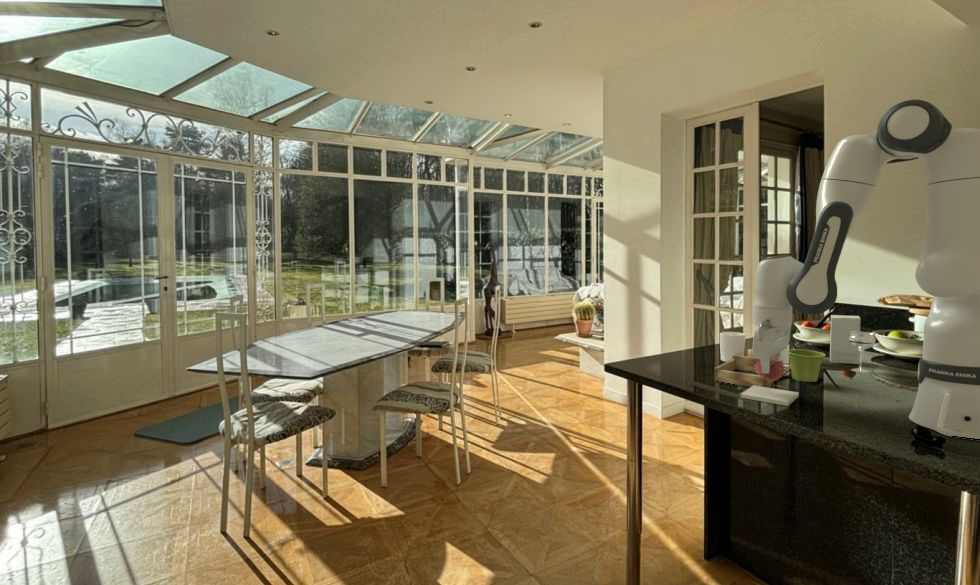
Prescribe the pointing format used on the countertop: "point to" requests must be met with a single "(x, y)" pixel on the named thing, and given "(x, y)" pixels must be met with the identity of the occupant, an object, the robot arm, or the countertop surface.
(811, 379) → the plant pot
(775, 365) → the flower
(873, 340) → the wineglass
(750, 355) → the tan rounded block
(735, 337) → the white cup
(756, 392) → the tile
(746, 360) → the open wooden box
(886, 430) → the countertop surface
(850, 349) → the skincare box
